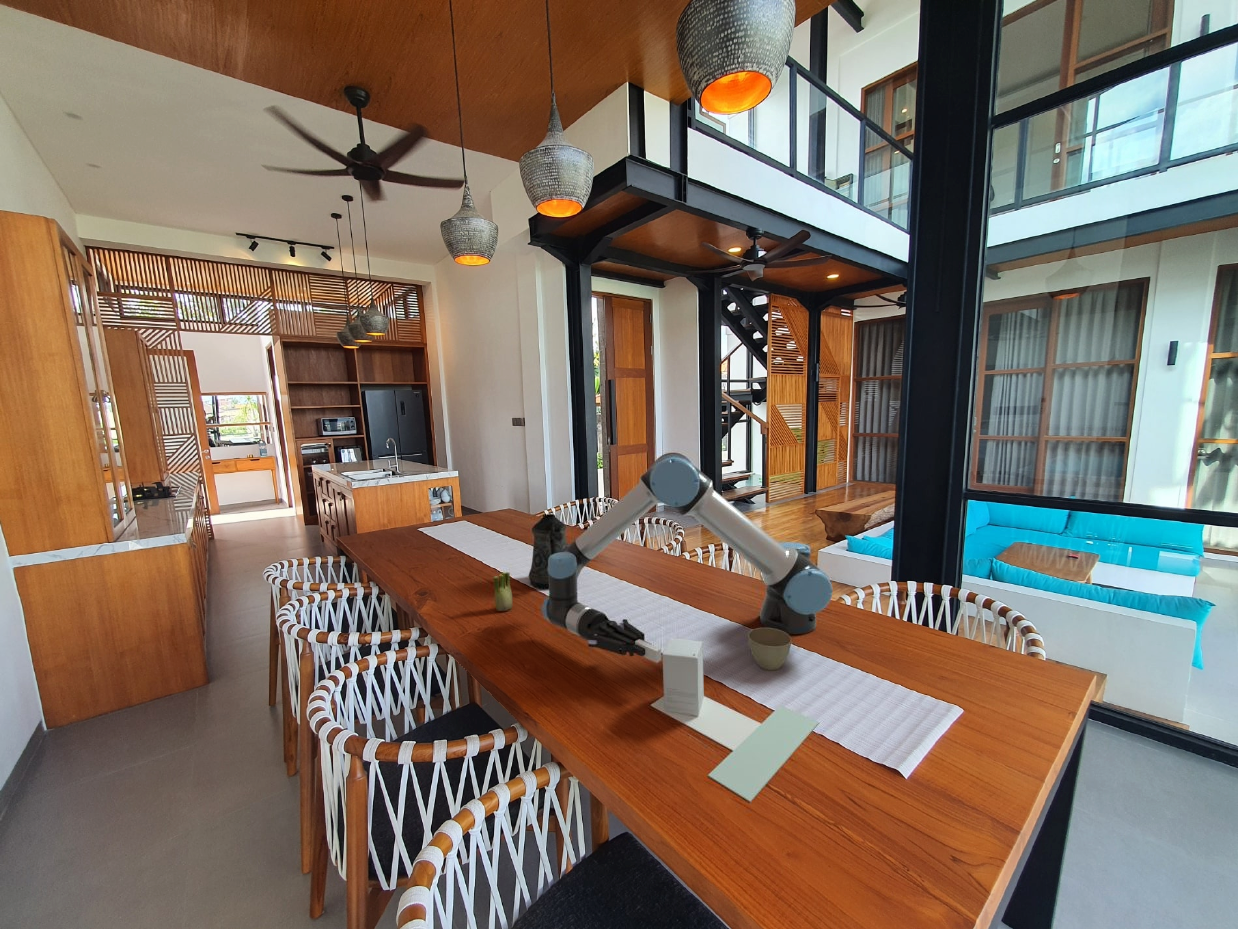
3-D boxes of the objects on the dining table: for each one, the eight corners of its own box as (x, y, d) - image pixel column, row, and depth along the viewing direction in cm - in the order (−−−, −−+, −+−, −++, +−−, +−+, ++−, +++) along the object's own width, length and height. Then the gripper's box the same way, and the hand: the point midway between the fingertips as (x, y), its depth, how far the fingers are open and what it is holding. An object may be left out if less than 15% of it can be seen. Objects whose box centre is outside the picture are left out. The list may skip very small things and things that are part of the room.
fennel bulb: (496, 614, 150) (493, 577, 148) (493, 608, 154) (491, 572, 153) (514, 610, 152) (512, 574, 151) (511, 605, 156) (509, 569, 155)
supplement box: (704, 696, 104) (703, 641, 102) (698, 717, 97) (697, 658, 95) (671, 690, 106) (669, 636, 105) (663, 711, 99) (661, 653, 98)
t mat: (624, 724, 96) (624, 723, 96) (701, 670, 114) (701, 670, 114) (750, 802, 76) (750, 801, 76) (819, 723, 94) (819, 722, 94)
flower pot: (794, 677, 110) (794, 648, 109) (749, 674, 112) (749, 645, 111) (788, 655, 120) (788, 628, 119) (746, 652, 122) (746, 625, 121)
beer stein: (551, 571, 188) (548, 508, 185) (589, 580, 177) (586, 513, 174) (519, 584, 175) (515, 517, 172) (558, 595, 163) (555, 523, 160)
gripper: (606, 628, 127) (677, 660, 110) (568, 646, 118) (638, 684, 101) (606, 601, 126) (677, 629, 109) (567, 617, 117) (638, 650, 100)
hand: (658, 655), depth 105 cm, fingers closed
